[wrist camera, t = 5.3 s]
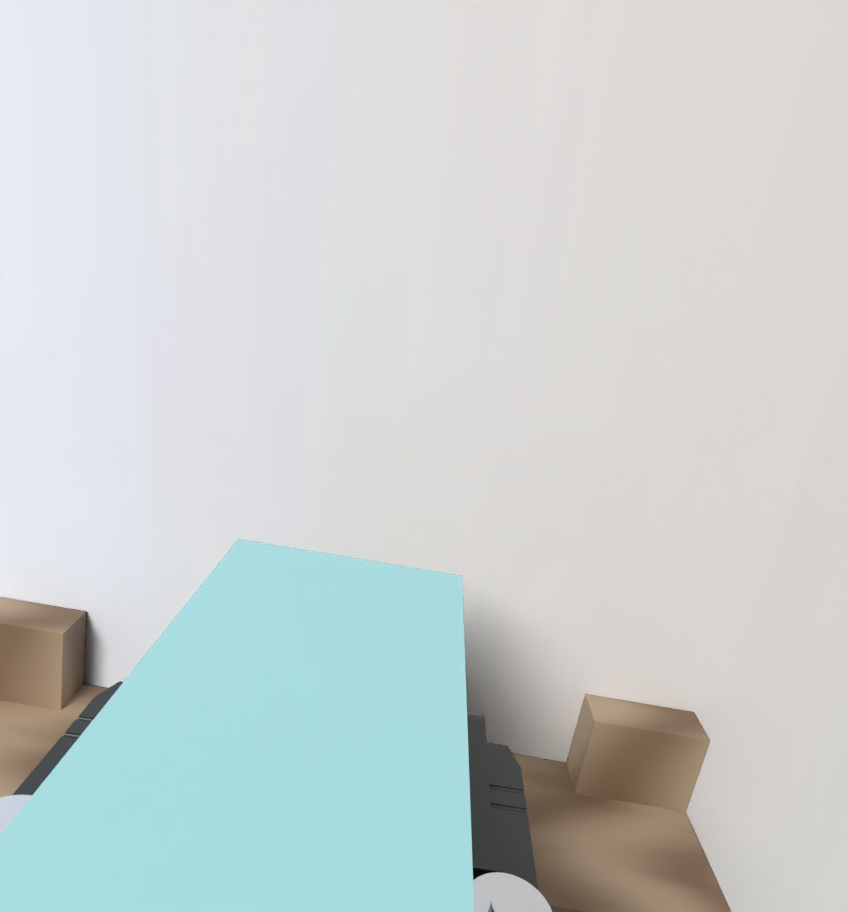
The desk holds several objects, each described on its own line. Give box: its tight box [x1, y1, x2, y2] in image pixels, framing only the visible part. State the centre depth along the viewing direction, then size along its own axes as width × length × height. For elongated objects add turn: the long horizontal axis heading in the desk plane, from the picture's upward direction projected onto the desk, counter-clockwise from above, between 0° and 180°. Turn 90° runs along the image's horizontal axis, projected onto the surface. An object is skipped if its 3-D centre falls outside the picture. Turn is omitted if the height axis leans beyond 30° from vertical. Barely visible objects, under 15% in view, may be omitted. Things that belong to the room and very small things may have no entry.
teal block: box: [0, 539, 474, 912], centre depth 11 cm, size 5×5×9 cm
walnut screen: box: [0, 597, 731, 912], centre depth 22 cm, size 26×8×6 cm, turn 80°
